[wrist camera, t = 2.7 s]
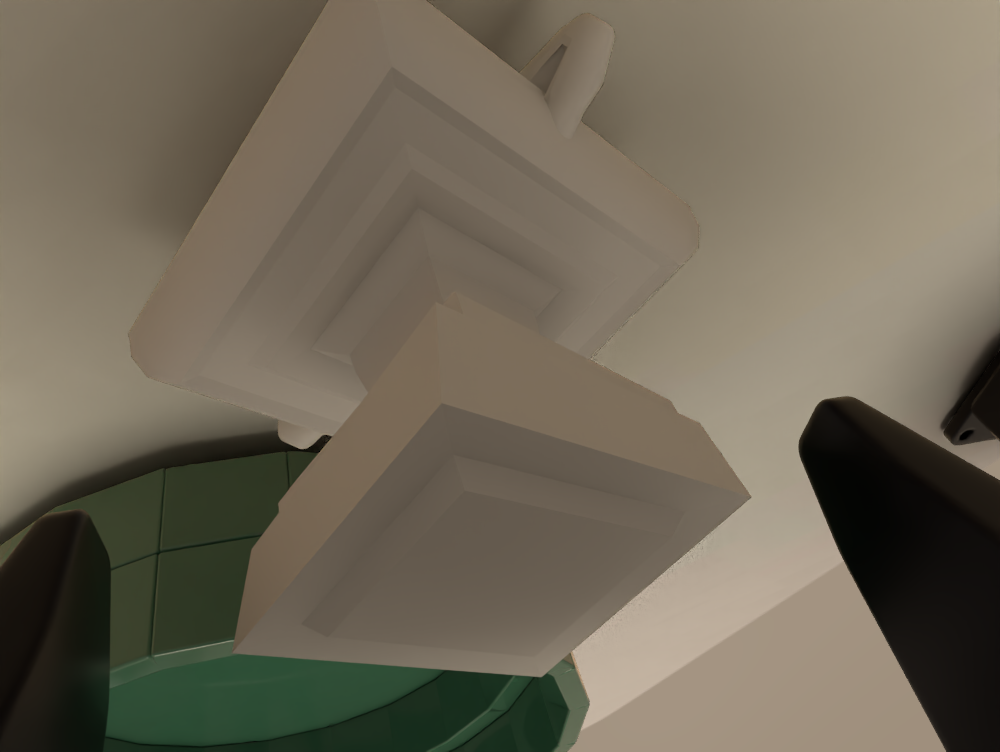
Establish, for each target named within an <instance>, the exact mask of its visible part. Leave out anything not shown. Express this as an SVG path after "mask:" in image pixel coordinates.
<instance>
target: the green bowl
mask: <svg viewBox="0 0 1000 752" xmlns="http://www.w3.org/2000/svg"><path fill="white" fill-rule="evenodd" d="M317 455H318V453H316V452H301V451H288V452H287V453H286V452H276V453H269V454H262V455H255V456H248V457H241V458H233V459H226V460H219V461H212V462H205V463H198V464H191V465H184V466H176V467H169V468H167V469H165V468H162V469H159V470H156V471H153V472H151V473H148V474H145V475H142V476H140V477H137V478H134V479H131V480H129V481H126V482H123V483H120V484H118V485H115V486H112V487H109V488H107V489H104V490H101V491H98V492H95V493H93V494H90V495H87V496H84V497H82V498H79V499H76V500H73V501H71V502H68V503H65V504H62V505H60V506H57V507H54V508H53V509H52V510H50V511H49V512H47V513H46V514H49V513H55V512H62V511H68V510H75V509H82V510H84V511H86V512H87V513H88V514H89V516H90V517H91V519H92V521H93V523H94V525H95V527H96V529H97V531H98V533H99V535H100V537H101V539H102V541H103V543H104V545H105V547H106V549H107V552H108V555H109V558H110V565H111V618H110V689H109V709H108V719H107V728H106V735H105V742H104V750H103V752H567V751H568V750H569V749H570V748H571V747H572V746H573V745H574V744H575V742H576V741H577V739H578V735H579V733H580V730H581V727H582V725H583V722H584V719H585V716H586V713H587V711H588V708H589V702H590V701H589V698H588V695H587V692H586V689H585V686H584V684H583V681H582V678H581V675H580V672H579V669H578V666H577V663H576V660H575V658H574V655H573V652H572V651H571V652H570V653H569V654H568V655H567V656H566V657H564V658H563V659H562V660H561V661H560V662H559V663H557V664H556V665H555V666H554V667H553V668H552V669H550V670H549V671H548V672H547V673H546V674H545V675H543V676H542V677H533V676H520V675H507V674H494V673H481V672H468V671H455V670H442V669H429V668H416V667H403V666H390V665H377V664H364V663H351V662H338V661H325V660H312V659H299V658H286V657H273V656H260V655H247V654H234V653H232V650H233V645H234V639H235V634H236V629H237V623H238V618H239V613H240V608H241V602H242V597H243V592H244V587H245V581H246V576H247V571H248V566H249V560H250V555H251V550H252V548H253V547H254V545H255V544H256V543H257V541H258V540H259V539H260V537H261V536H262V535H263V533H264V532H265V531H266V529H267V528H268V527H269V525H270V524H271V523H272V521H273V520H274V519H275V517H276V516H277V515H278V513H279V506H278V503H279V502H280V500H281V499H282V498H283V496H284V495H285V494H286V493H287V491H288V490H289V489H290V487H291V486H292V485H293V484H294V482H295V481H296V480H297V479H298V477H299V476H300V475H301V474H302V473H303V471H304V470H305V469H306V468H307V467H308V465H309V464H310V463H311V462H312V461H313V459H314V458H315V457H316V456H317ZM44 515H45V514H44ZM41 517H42V516H41ZM37 520H38V519H37ZM37 520H36V521H37ZM36 521H34V522H33V523H31V524H30V525H29V526H27V527H26V528H24V529H23V530H22V531H20V532H19V533H17V534H16V535H14V536H13V537H12V538H10V539H9V540H7V541H6V542H5V543H3V544H2V545H0V567H1V565H2V564H3V563H4V561H5V560H6V559H7V558H8V556H9V555H10V554H11V552H12V551H13V550H14V549H15V547H16V546H17V545H18V543H19V542H20V541H21V540H22V538H23V537H24V536H25V534H26V533H27V532H28V531H29V529H30V528H31V527H32V525H33V524H34V523H35V522H36Z"/></svg>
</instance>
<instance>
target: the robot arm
mask: <svg viewBox="0 0 1000 752" xmlns="http://www.w3.org/2000/svg"><path fill="white" fill-rule="evenodd" d="M944 435H945V437H946V438H947V439H948V440H949V441H950V442H951V443H952V444H953V445H962V444H968V443H974V442H980V441H985V440H991V439H998V440H999V441H1000V351H999V352H998V354H997V355H996V356H995V358H994V359H993V361H992V362H991V364H990V365H989V366H988V368H987V369H986V371H985V372H984V374H983V375H982V376H981V378H980V379H979V381H978V382H977V384H976V385H975V386H974V388H973V389H972V391H971V392H970V394H969V395H968V396H967V398H966V399H965V401H964V402H963V404H962V405H961V406H960V408H959V409H958V411H957V412H956V414H955V415H954V417H953V418H952V419H951V421H950V422H949V424H948V425H947V427H946V428H945V430H944ZM799 455H800V458H801V461H802V463H803V466H804V468H805V471H806V473H807V475H808V478H809V480H810V483H811V485H812V487H813V490H814V492H815V495H816V497H817V500H818V502H819V504H820V507H821V509H822V512H823V514H824V516H825V519H826V521H827V524H828V526H829V529H830V531H831V533H832V536H833V538H834V540H835V543H836V545H837V547H838V549H839V552H840V554H841V556H842V558H843V560H844V562H845V564H846V566H847V568H848V570H849V572H850V574H851V575H852V577H853V579H854V581H855V583H856V584H857V587H858V588H859V590H860V592H861V594H862V596H863V597H864V599H865V601H866V603H867V605H868V607H869V609H870V611H871V613H872V614H873V616H874V618H875V620H876V621H877V624H878V626H879V627H880V629H881V631H882V633H883V635H884V637H885V638H886V640H887V642H888V644H889V646H890V648H891V650H892V652H893V653H894V655H895V657H896V659H897V661H898V662H899V664H900V666H901V668H902V670H903V671H904V674H905V676H906V678H907V679H908V681H909V683H910V685H911V687H912V689H913V690H914V692H915V694H916V696H917V698H918V700H919V702H920V703H921V705H922V707H923V709H924V711H925V713H926V714H927V716H928V718H929V720H930V722H931V724H932V725H933V727H934V729H935V731H936V733H937V735H938V737H939V739H940V741H941V742H942V744H943V746H944V748H945V750H946V752H1000V480H998V479H996V478H995V477H993V476H991V475H989V474H987V473H986V472H984V471H982V470H981V469H979V468H977V467H975V466H974V465H972V464H970V463H968V462H967V461H965V460H963V459H961V458H960V457H958V456H956V455H954V454H953V453H951V452H949V451H947V450H946V449H944V448H942V447H940V446H939V445H937V444H935V443H933V442H932V441H930V440H928V439H926V438H925V437H923V436H921V435H919V434H918V433H916V432H914V431H912V430H911V429H909V428H907V427H905V426H904V425H902V424H900V423H898V422H897V421H895V420H893V419H891V418H890V417H888V416H886V415H884V414H883V413H881V412H879V411H877V410H876V409H874V408H872V407H870V406H869V405H867V404H865V403H863V402H862V401H860V400H858V399H856V398H854V397H849V396H844V397H837V398H830V399H825V400H822V401H821V402H820V403H819V404H818V405H817V406H816V408H815V410H814V412H813V414H812V416H811V418H810V420H809V422H808V424H807V425H806V427H805V429H804V431H803V433H802V435H801V437H800V440H799ZM110 618H111V565H110V558H109V555H108V552H107V549H106V547H105V545H104V543H103V541H102V539H101V537H100V535H99V533H98V531H97V529H96V527H95V525H94V523H93V521H92V519H91V517H90V516H89V514H88V513H87V512H86V511H84V510H82V509H75V510H68V511H62V512H55V513H49V514H45V515H43V516H42V517H40V518H39V519H38V520H37V521H36V522H35V523H34V524H33V525H32V527H31V528H30V529H29V531H28V532H27V533H26V534H25V536H24V537H23V538H22V540H21V541H20V542H19V543H18V545H17V546H16V547H15V549H14V550H13V551H12V552H11V554H10V555H9V556H8V558H7V559H6V560H5V561H4V563H3V564H2V565H1V567H0V752H103V750H104V742H105V735H106V728H107V719H108V709H109V689H110Z"/></svg>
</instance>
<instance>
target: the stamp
mask: <svg viewBox="0 0 1000 752" xmlns="http://www.w3.org/2000/svg"><path fill="white" fill-rule="evenodd" d="M614 41H615V31H614V30H613V28H612V27H611V25H609V24H607V23H606V22H604V21H602V20H600V19H599V18H597V17H595V16H593V15H591V14H589V13H584V14H581V15H579V16H577V17H576V18H574V19H573V20H572V21H571V22H569V23H568V24H567V25H565V26H564V27H562V28H561V29H560V30H559V31H558V32H557V33H556V34H555V35H554V36H553V37H552V38H551V40H550V41H549V42H548V43H547V44H546V45H545V46H544V47H543V48H542V49H541V50H540V51H539V52H538V54H537V55H536V56H535V57H534V58H533V59H532V60H531V61H530V62H529V63H528V64H527V65H526V66H525V67H524V68H523V69H522V70H521V71H520V73H518V72H517V71H516V70H515V69H513V68H512V67H511V66H510V65H508V64H507V63H506V62H504V61H503V60H502V59H501V58H499V57H498V56H497V55H495V54H494V53H493V52H492V51H490V50H489V49H488V48H486V47H485V46H484V45H483V44H481V43H480V42H479V41H477V40H476V39H475V38H474V37H472V36H471V35H470V34H468V33H467V32H466V31H465V30H463V29H462V28H461V27H460V26H458V25H457V24H456V23H454V22H453V21H452V20H451V19H449V18H448V17H447V16H445V15H444V14H443V13H442V12H440V11H439V10H438V9H436V8H435V7H434V6H433V5H431V4H430V3H429V2H427V1H426V0H328V2H327V4H326V5H325V7H324V9H323V10H322V12H321V14H320V15H319V17H318V19H317V20H316V22H315V24H314V25H313V27H312V29H311V30H310V32H309V34H308V35H307V37H306V39H305V40H304V42H303V44H302V45H301V47H300V49H299V50H298V52H297V54H296V55H295V57H294V59H293V60H292V62H291V64H290V65H289V67H288V69H287V70H286V72H285V73H284V75H283V77H282V78H281V80H280V82H279V83H278V85H277V87H276V88H275V90H274V92H273V93H272V95H271V97H270V98H269V100H268V102H267V103H266V105H265V107H264V108H263V110H262V112H261V113H260V115H259V117H258V118H257V120H256V122H255V123H254V125H253V127H252V128H251V130H250V132H249V133H248V135H247V137H246V138H245V140H244V142H243V143H242V145H241V147H240V148H239V150H238V152H237V153H236V155H235V157H234V158H233V160H232V162H231V163H230V165H229V167H228V168H227V170H226V172H225V173H224V175H223V177H222V178H221V180H220V182H219V183H218V185H217V186H216V188H215V190H214V191H213V193H212V195H211V196H210V198H209V200H208V201H207V203H206V205H205V206H204V208H203V210H202V211H201V213H200V215H199V216H198V218H197V220H196V221H195V223H194V225H193V226H192V228H191V230H190V231H189V233H188V235H187V236H186V238H185V240H184V241H183V243H182V245H181V246H180V248H179V250H178V251H177V253H176V255H175V256H174V258H173V260H172V261H171V263H170V265H169V266H168V268H167V270H166V271H165V273H164V275H163V276H162V278H161V280H160V281H159V283H158V285H157V286H156V288H155V290H154V291H153V293H152V295H151V296H150V298H149V300H148V301H147V303H146V304H145V306H144V308H143V309H142V311H141V313H140V314H139V316H138V318H137V319H136V321H135V323H134V324H133V326H132V328H131V329H130V331H129V333H128V336H129V339H130V348H131V357H132V358H133V360H134V361H135V362H136V363H137V365H138V366H139V367H140V368H141V370H142V371H143V372H144V373H145V374H146V376H147V377H149V378H152V379H155V380H157V381H160V382H163V383H166V384H170V385H173V386H176V387H179V388H182V389H185V390H188V391H191V392H194V393H198V394H201V395H204V396H207V397H210V398H213V399H216V400H219V401H223V402H226V403H229V404H232V405H235V406H238V407H241V408H244V409H248V410H251V411H254V412H257V413H260V414H263V415H266V416H269V417H273V418H276V419H278V436H279V438H280V439H281V440H282V441H284V442H285V443H288V444H290V445H292V446H294V447H297V448H299V449H307V448H308V447H310V446H312V445H313V444H314V443H315V442H316V441H317V440H318V439H319V438H320V437H321V436H323V435H324V434H326V435H329V436H332V438H331V439H330V440H329V441H328V443H327V444H326V445H325V446H324V447H323V449H322V450H321V451H320V452H319V453H318V455H317V456H316V457H315V458H314V459H313V461H312V462H311V463H310V464H309V465H308V467H307V468H306V469H305V470H304V471H303V473H302V474H301V475H300V476H299V477H298V479H297V480H296V481H295V482H294V484H293V485H292V486H291V487H290V489H289V490H288V491H287V493H286V494H285V495H284V496H283V498H282V499H281V500H280V502H279V503H278V506H279V513H278V515H277V516H276V517H275V519H274V520H273V521H272V523H271V524H270V525H269V527H268V528H267V529H266V531H265V532H264V533H263V535H262V536H261V537H260V539H259V540H258V541H257V543H256V544H255V545H254V547H253V548H252V550H251V555H250V560H249V566H248V571H247V576H246V581H245V587H244V592H243V597H242V602H241V608H240V613H239V618H238V623H237V629H236V634H235V639H234V645H233V650H232V653H234V654H247V655H260V656H273V657H286V658H299V659H312V660H325V661H338V662H351V663H364V664H377V665H390V666H403V667H416V668H429V669H442V670H455V671H468V672H481V673H494V674H507V675H520V676H533V677H542V676H543V675H545V674H546V673H547V672H548V671H549V670H550V669H552V668H553V667H554V666H555V665H556V664H557V663H559V662H560V661H561V660H562V659H563V658H564V657H566V656H567V655H568V654H569V653H570V652H571V651H573V650H574V649H575V648H576V647H577V646H578V645H580V644H581V643H582V642H583V641H584V640H585V639H587V638H588V637H589V636H590V635H591V634H592V633H594V632H595V631H596V630H597V629H598V628H599V627H601V626H602V625H603V624H604V623H605V622H606V621H608V620H609V619H610V618H611V617H612V616H613V615H615V614H616V613H617V612H618V611H619V610H620V609H622V608H623V607H624V606H625V605H626V604H627V603H629V602H630V601H631V600H632V599H633V598H634V597H636V596H637V595H638V594H639V593H640V592H641V591H643V590H644V589H645V588H646V587H647V586H648V585H650V584H651V583H652V582H653V581H654V580H655V579H657V578H658V577H659V576H660V575H661V574H662V573H664V572H665V571H666V570H667V569H668V568H669V567H671V566H672V565H673V564H674V563H675V562H676V561H678V560H679V559H680V558H681V557H682V556H683V555H685V554H686V553H687V552H688V551H689V550H690V549H692V548H693V547H694V546H695V545H696V544H697V543H699V542H700V541H701V540H702V539H703V538H704V537H706V536H707V535H708V534H709V533H710V532H711V531H713V530H714V529H715V528H716V527H717V526H718V525H720V524H721V523H722V522H723V521H724V520H725V519H727V518H728V517H729V516H730V515H731V514H732V513H734V512H735V511H736V510H737V509H738V508H739V507H741V506H742V505H743V504H744V503H745V502H746V501H747V500H749V499H750V498H751V495H750V494H749V492H748V491H747V490H746V488H745V487H744V485H743V484H742V483H741V481H740V480H739V478H738V477H737V475H736V474H735V473H734V471H733V470H732V468H731V467H730V465H729V464H728V463H727V461H726V460H725V458H724V457H723V455H722V454H721V453H720V451H719V450H718V448H717V447H716V446H715V444H714V443H713V441H712V440H711V438H710V437H709V436H708V434H707V433H706V431H705V430H704V428H703V427H702V426H701V424H700V423H698V422H696V421H694V420H692V419H690V418H688V417H685V416H683V415H681V414H679V413H677V411H676V409H675V407H674V406H673V404H672V402H671V401H670V400H668V399H666V398H664V397H662V396H660V395H658V394H656V393H654V392H652V391H650V390H648V389H646V388H644V387H642V386H640V385H638V384H636V383H634V382H633V381H631V380H629V379H627V378H625V377H623V376H621V375H619V374H617V373H615V372H613V371H611V370H609V369H607V368H605V367H603V366H601V365H599V364H597V363H595V362H593V361H591V360H589V359H590V358H591V357H592V356H593V355H594V354H595V353H596V352H597V351H598V350H599V349H600V348H601V347H602V346H603V345H604V344H605V343H606V342H607V341H608V340H609V339H610V338H611V337H612V336H613V335H614V334H615V333H616V332H617V331H618V330H619V329H620V328H621V327H622V326H623V325H624V324H625V323H626V322H627V321H628V320H629V319H630V318H631V317H632V316H633V315H634V314H635V313H636V312H637V311H638V310H639V309H640V308H641V307H642V306H643V305H644V304H645V303H646V302H647V301H648V300H649V299H650V298H651V297H652V296H653V295H654V294H655V293H656V292H657V291H658V290H659V289H660V288H661V287H662V286H663V285H664V284H665V283H666V282H667V281H668V280H669V279H670V278H671V277H672V276H673V275H674V274H675V273H676V272H677V271H678V270H679V269H680V268H681V267H682V266H683V265H684V264H685V263H686V262H687V261H688V260H689V259H690V258H691V257H692V255H693V254H694V253H695V252H696V250H697V249H698V248H699V227H700V226H699V224H698V222H697V220H696V219H695V217H694V215H693V213H692V211H691V208H690V206H689V205H688V204H686V203H685V202H684V201H683V200H681V199H680V198H679V197H677V196H676V195H675V194H674V193H672V192H671V191H670V190H668V189H667V188H666V187H665V186H663V185H662V184H661V183H659V182H658V181H657V180H656V179H654V178H653V177H652V176H651V175H649V174H648V173H647V172H645V171H644V170H643V169H642V168H640V167H639V166H638V165H636V164H635V163H634V162H633V161H631V160H630V159H629V158H627V157H626V156H625V155H624V154H622V153H621V152H620V151H618V150H617V149H616V148H615V147H613V146H612V145H611V144H609V143H608V142H607V141H606V140H604V139H603V138H602V137H601V136H599V135H598V134H597V133H595V132H594V131H593V130H592V129H590V128H589V127H588V126H586V125H585V124H584V123H583V122H581V119H582V116H583V114H584V112H585V110H586V109H587V107H588V106H589V104H590V103H591V102H592V100H593V99H594V98H595V96H596V95H597V93H598V92H599V90H600V89H601V87H602V85H603V83H604V79H605V75H606V72H607V68H608V64H609V60H610V57H611V53H612V49H613V45H614Z"/></svg>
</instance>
